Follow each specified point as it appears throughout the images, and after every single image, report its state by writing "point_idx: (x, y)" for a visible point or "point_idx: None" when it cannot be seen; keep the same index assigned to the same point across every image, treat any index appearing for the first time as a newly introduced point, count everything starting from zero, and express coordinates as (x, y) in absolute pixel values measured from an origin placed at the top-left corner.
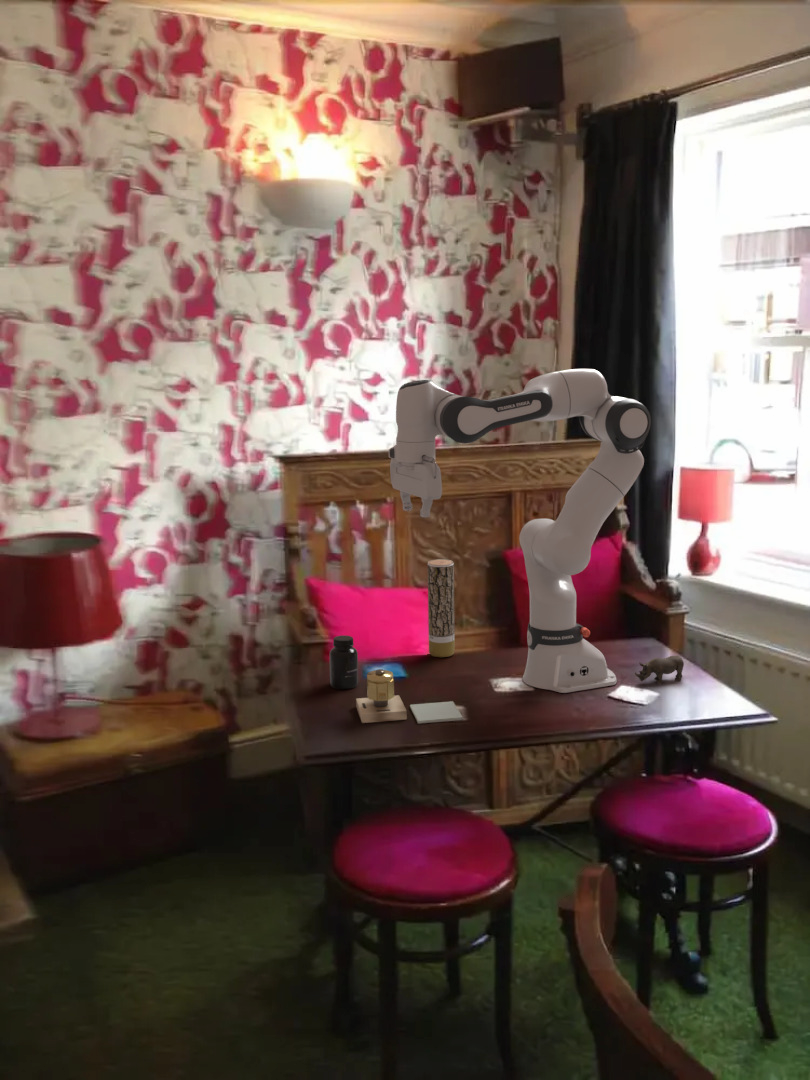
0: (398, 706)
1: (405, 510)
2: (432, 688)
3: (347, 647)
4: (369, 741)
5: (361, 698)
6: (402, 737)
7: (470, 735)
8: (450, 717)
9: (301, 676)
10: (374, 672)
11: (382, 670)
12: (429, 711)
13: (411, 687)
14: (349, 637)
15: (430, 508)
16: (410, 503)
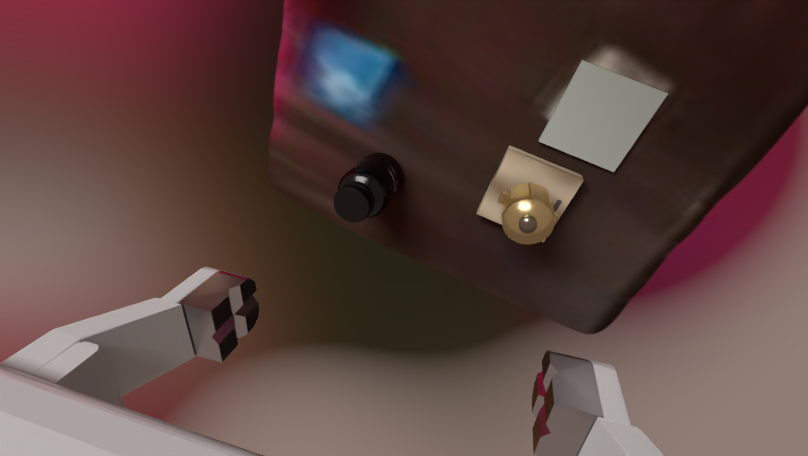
0: (556, 180)
1: (252, 317)
2: (482, 47)
3: (374, 203)
4: (612, 263)
5: (481, 207)
6: (640, 221)
7: (740, 125)
8: (648, 114)
9: (316, 204)
10: (512, 225)
11: (529, 221)
12: (592, 130)
13: (453, 81)
14: (352, 194)
15: (649, 439)
16: (214, 324)
